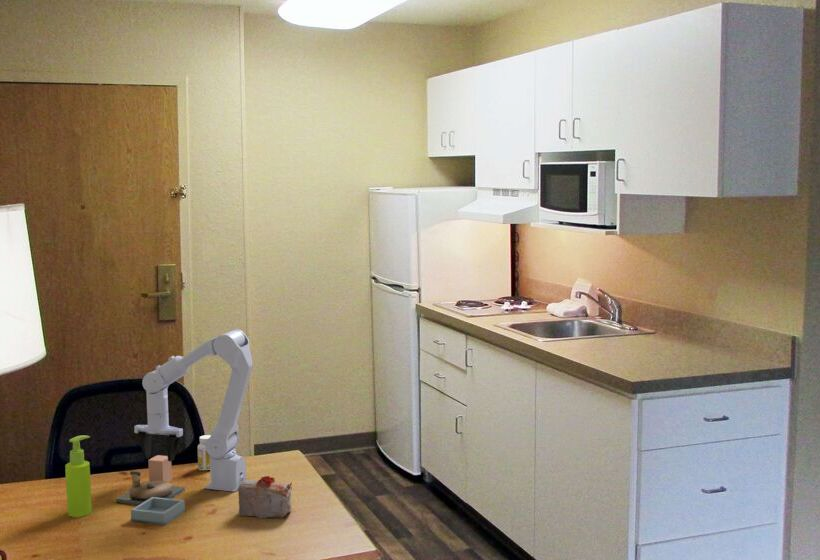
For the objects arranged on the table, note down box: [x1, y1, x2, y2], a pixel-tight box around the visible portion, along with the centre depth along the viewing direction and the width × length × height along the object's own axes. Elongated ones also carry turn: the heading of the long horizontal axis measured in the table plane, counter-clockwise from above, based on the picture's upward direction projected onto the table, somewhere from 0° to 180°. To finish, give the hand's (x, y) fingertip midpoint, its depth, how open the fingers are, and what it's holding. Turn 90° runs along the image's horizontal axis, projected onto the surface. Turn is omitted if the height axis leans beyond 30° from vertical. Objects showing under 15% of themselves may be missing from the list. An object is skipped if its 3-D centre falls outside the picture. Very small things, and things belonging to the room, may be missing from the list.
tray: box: [130, 497, 186, 526], centre depth 230 cm, size 10×10×3 cm
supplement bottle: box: [197, 434, 212, 471], centre depth 266 cm, size 5×5×10 cm
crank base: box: [115, 485, 186, 506], centre depth 244 cm, size 13×13×1 cm
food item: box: [237, 475, 293, 520], centre depth 230 cm, size 14×8×10 cm, turn 81°
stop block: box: [147, 454, 173, 482], centre depth 255 cm, size 4×4×7 cm
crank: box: [129, 470, 173, 499], centre depth 244 cm, size 12×11×5 cm
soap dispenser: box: [64, 434, 93, 518], centre depth 232 cm, size 6×7×20 cm
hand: (159, 459), depth 255 cm, fingers open, 7 cm apart
